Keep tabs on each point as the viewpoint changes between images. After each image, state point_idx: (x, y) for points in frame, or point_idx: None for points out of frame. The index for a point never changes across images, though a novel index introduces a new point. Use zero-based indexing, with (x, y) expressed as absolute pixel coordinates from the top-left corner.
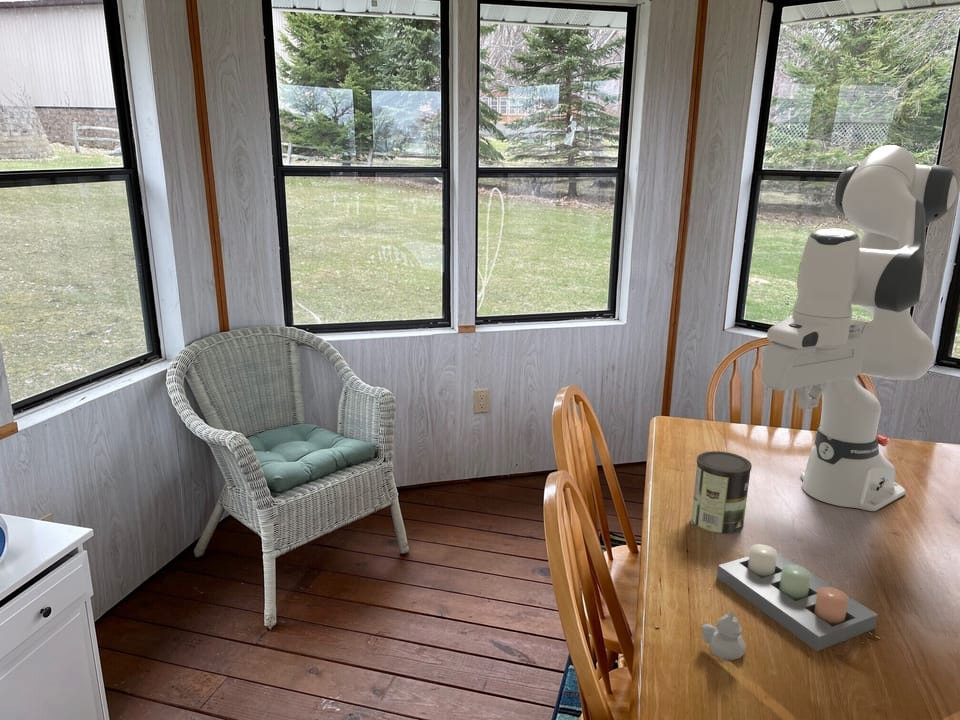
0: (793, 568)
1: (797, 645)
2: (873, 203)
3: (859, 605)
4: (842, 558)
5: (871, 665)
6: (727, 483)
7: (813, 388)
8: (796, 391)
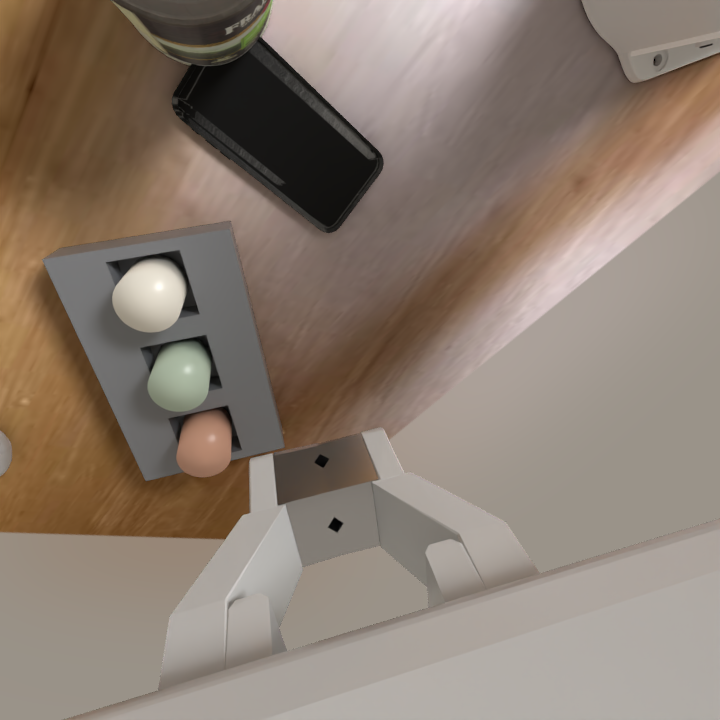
0: (179, 376)
1: None
2: None
3: (272, 425)
4: (402, 236)
5: (226, 477)
6: (134, 14)
7: (432, 534)
8: (202, 576)
